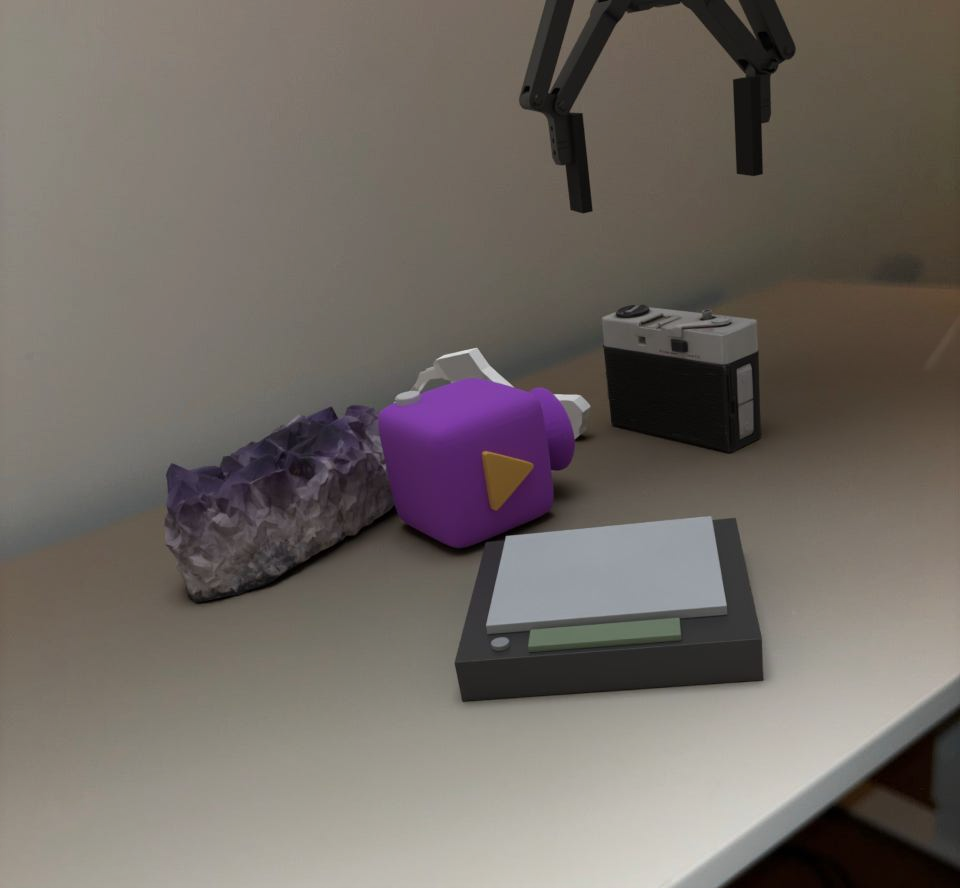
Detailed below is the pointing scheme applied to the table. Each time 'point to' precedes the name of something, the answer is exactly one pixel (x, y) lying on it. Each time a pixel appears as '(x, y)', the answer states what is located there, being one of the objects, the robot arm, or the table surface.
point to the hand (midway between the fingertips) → (666, 192)
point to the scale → (610, 611)
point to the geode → (276, 502)
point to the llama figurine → (477, 367)
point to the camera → (683, 375)
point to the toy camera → (474, 457)
